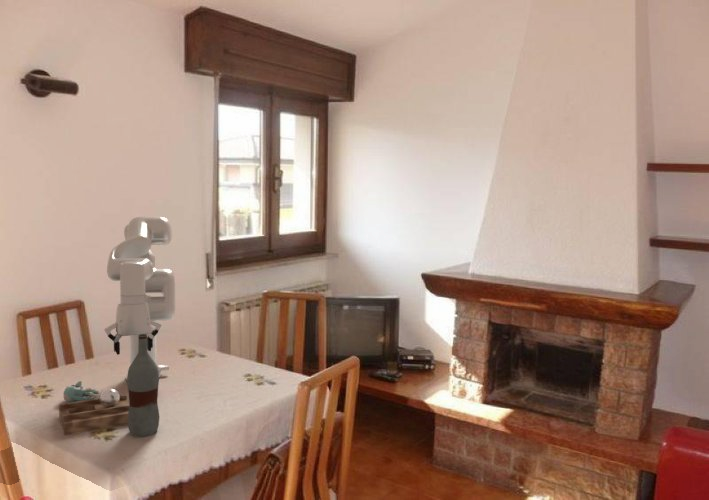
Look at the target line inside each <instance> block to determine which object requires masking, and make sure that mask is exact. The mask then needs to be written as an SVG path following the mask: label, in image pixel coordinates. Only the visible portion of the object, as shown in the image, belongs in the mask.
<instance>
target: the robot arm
mask: <svg viewBox="0 0 709 500" xmlns="http://www.w3.org/2000/svg"><path fill="white" fill-rule="evenodd" d="M123 233H124V239H125V240H124V241H122V242H120V243H119V244H117V245H116V246H114V247H113V248H112V250H111V251H110V253H109V256H108V260H107V268H106V274H107V276H108V278H109V280H111V281H115V282H120V283H119V286H120V287H119V288H120V292H119V294H120V303H118V304H117V308H116V315H115V322H114V323H112V324H111V325H109V326H106V327H105V328H104V329H103V330H104V332H105V334H106V336H107V337H108V338H109V339H110V340H111V341H112V342H113V351H114V352H115V353H116V355H120V353H121V351H120V350H121V346H120V345H121V344H120V343H121V342H120V339H121V338H122V337H127V336H129V360H130V361H129V362H130V363H129V366H130V365H131V364H132V362H133V361H134V359H135V357H136V356H137V354H138V345H139V337H138V335H140V334H147V335H148V336H147V352H148V354H149V355H150V356H151V358H152V359H153V361H154V362H155V363H156V365H157V367H158V372H159V378H161V372H163V371H164V372H165V371H170V366H169V365H167V364H166V365H164V364H161V365H158V363H157V335H158V333H159V331H160V329H161V328H162V324H161V323H160V322H169V321H172V320H173V319H174V318H175V314H176V278H175V274H174V272H173V271H172V270H171V269H169V268H156V256H155V254H154V253H153V252H152V250H151V248H152V246H160V245H161V246H166V245H169V244H170V243H171V241H172V239H173V230H172V227H171V223H170V221H169V219H167V218H166V217H162V216H138V217H137V216H136V217H133V218H132V219H130V221H129V222H128V224H127V225H125V227H124V231H123ZM150 294H161V295H163V296H161V295H160V296H151V295H150ZM153 326H154V327H153ZM114 329H115V332H116V334H115V335H113V334H112V332H111V331H112V330H114ZM127 376H128V373H127V374H126V375H125V379H126V380H127Z"/></svg>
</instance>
